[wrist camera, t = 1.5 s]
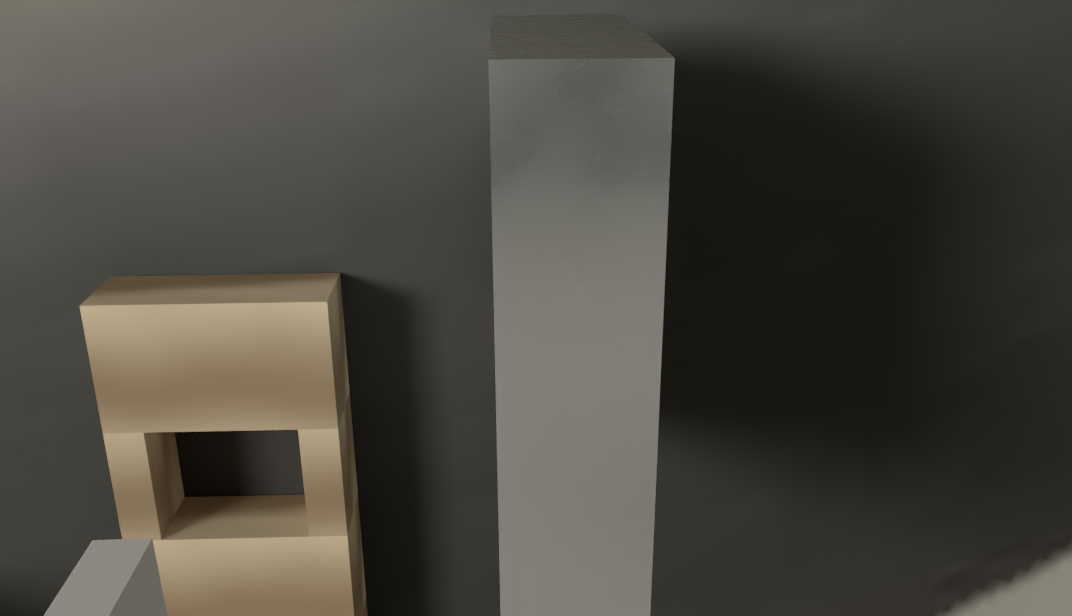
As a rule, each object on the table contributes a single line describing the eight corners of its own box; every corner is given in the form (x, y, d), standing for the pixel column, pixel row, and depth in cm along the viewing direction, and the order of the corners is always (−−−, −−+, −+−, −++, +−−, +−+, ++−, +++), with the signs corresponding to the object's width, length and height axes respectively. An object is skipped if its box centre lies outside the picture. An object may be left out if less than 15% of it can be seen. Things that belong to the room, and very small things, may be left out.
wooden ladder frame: (111, 276, 31) (79, 305, 29) (339, 272, 31) (327, 301, 29) (194, 772, 38) (175, 827, 36) (379, 766, 38) (372, 821, 36)
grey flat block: (493, 2, 28) (488, 60, 17) (606, 1, 28) (675, 57, 17) (500, 386, 33) (501, 630, 22) (598, 384, 33) (649, 627, 22)
